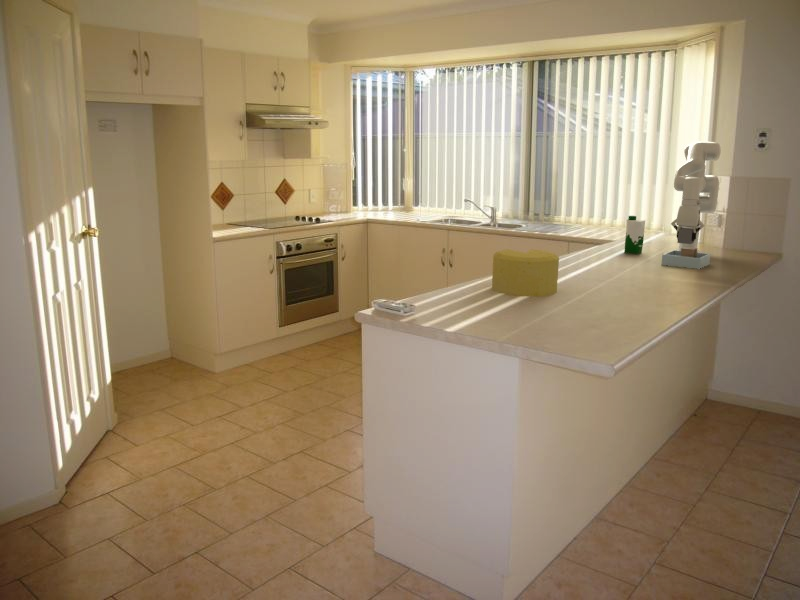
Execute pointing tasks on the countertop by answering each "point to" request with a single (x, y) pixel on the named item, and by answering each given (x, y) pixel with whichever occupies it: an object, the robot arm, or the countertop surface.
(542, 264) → the cheese
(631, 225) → the soya milk
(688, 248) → the walnut block
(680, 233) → the charcoal block
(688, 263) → the bin
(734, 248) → the countertop surface
